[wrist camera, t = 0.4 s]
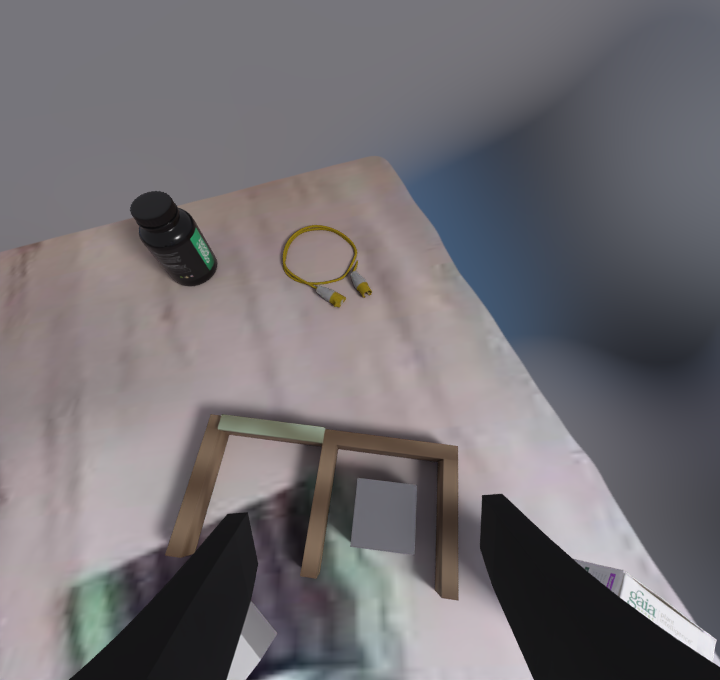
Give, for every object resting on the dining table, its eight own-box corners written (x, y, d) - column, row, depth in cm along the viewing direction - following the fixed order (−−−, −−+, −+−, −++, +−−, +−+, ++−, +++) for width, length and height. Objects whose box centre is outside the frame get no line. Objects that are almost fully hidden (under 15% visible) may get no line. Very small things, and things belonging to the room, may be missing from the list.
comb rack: (450, 592, 33) (460, 602, 30) (180, 551, 34) (161, 556, 31) (451, 449, 39) (459, 444, 35) (220, 419, 40) (208, 412, 37)
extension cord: (288, 318, 47) (286, 310, 45) (280, 234, 54) (277, 225, 52) (373, 305, 48) (374, 297, 46) (354, 224, 55) (354, 215, 53)
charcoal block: (409, 549, 35) (414, 554, 31) (351, 542, 35) (350, 546, 31) (411, 486, 37) (416, 484, 34) (357, 480, 37) (357, 477, 34)
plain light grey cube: (186, 641, 31) (150, 669, 26) (236, 582, 33) (212, 597, 28) (227, 699, 30) (198, 742, 24) (277, 633, 32) (260, 659, 26)
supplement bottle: (228, 266, 50) (192, 201, 40) (191, 295, 48) (142, 235, 37) (199, 244, 52) (157, 176, 42) (162, 271, 50) (108, 207, 39)
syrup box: (499, 601, 32) (593, 666, 19) (526, 545, 35) (626, 569, 22) (555, 648, 31) (698, 752, 18) (579, 586, 33) (722, 639, 20)
